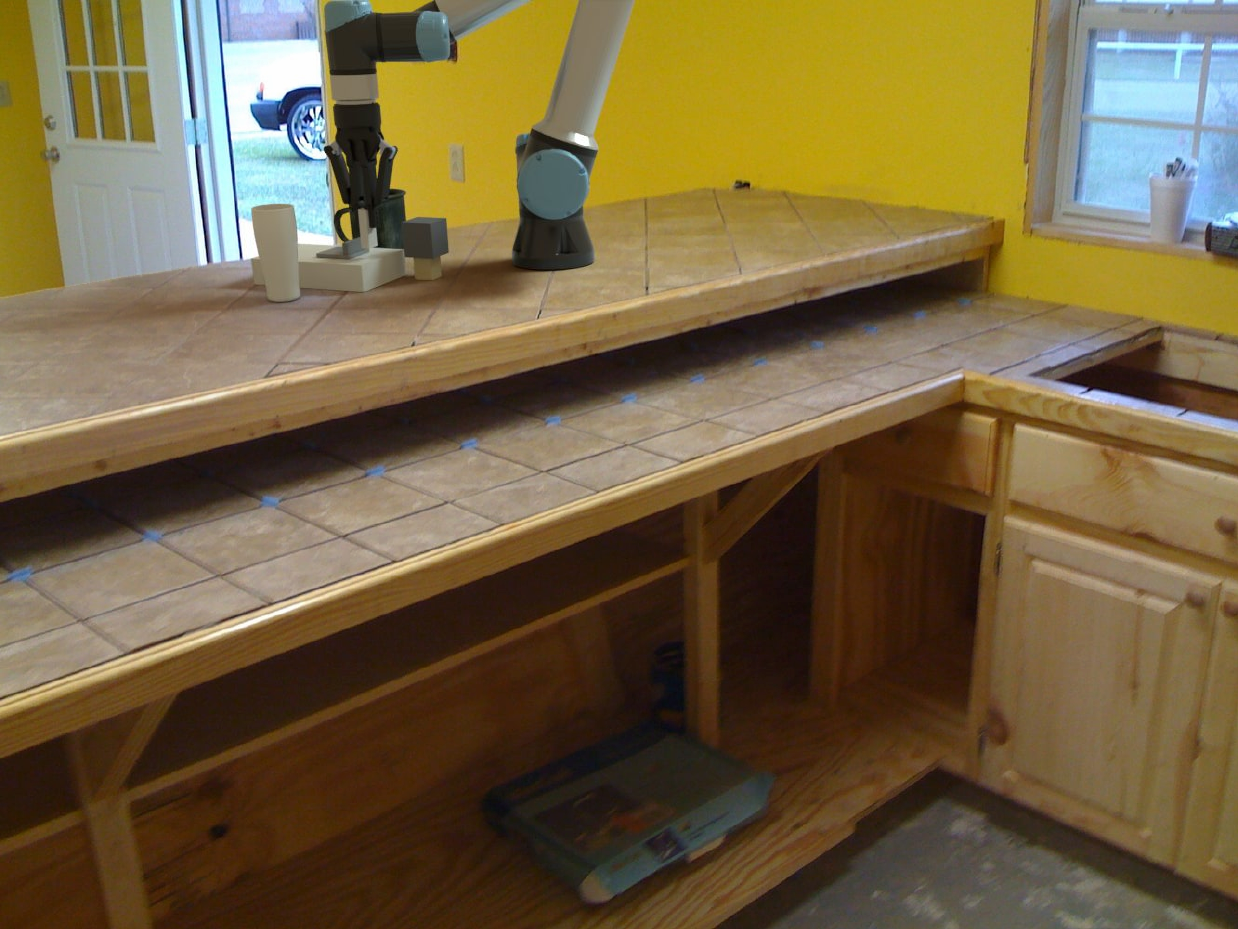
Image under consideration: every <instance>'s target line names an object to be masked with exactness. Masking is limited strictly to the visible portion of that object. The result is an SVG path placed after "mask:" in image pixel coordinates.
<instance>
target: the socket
mask: <svg viewBox="0 0 1238 929" xmlns="http://www.w3.org/2000/svg"><path fill="white" fill-rule="evenodd" d="M337 246H338V247H342V245H331V244H329V245H328V244H314V243H313V244H312V243H298V264H299V286H300V289H313V290H315V289H316V290H326V291H327V290H328V291H342V292H343V291H345V292H356V293H365V292H368V291H370V290H372V289H375V288H377V287H380V286H382V285H385V284H387V283H390V282H393V281H395V280H397V279H399V278H402V277H404V276H407V265H406V264H407V263H406V257H404V249H387V248H370V249H369V252H367V253H364V254H361V255H359V256H356V257H353V258H350V259H342V258H325V257H316V253H319V252H322V251H325V250H328V249H331V248H334V247H337ZM250 262H251V269H252V278H253V284H254V285H256V286H257V285H259V286H265V282H264V277H263V273H262V268H261V263H260V259H259V255H258V256H255V257H253V258H250Z"/></svg>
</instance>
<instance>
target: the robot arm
mask: <svg viewBox="0 0 1238 929" xmlns="http://www.w3.org/2000/svg"><path fill="white" fill-rule="evenodd" d="M532 1H533V0H431V1H429V2H427V3H425V4H423V5H422V6H420V7H418V8H416V9H415V10H412V11H404V12H402V11H401V12H400V11H399V12H376V11H373V8H372V4H371V2H370V1H369V0H329V1H327V2H326V3H325V4H324V7H323V12H324V13H323V14H324V15H323V16H324V35H325V42H326V44H325V45H326V52H327V60H328V61H327V62H328V63H327V64H328V70H329V71H328V72H329V81H330V92H331V100H333V101H335V104H333V106H332V111H333V112H332V113H333V121H334V126H335V127H336V132H335V136H334V141H332V143H330V144H329V145H325V146H323V151H324V154H325V155H326V156H327V158H328V160H329V161H330V164H331V167H332V171H333V174H334V177H335V178H334V179H335V182H336V184H337V188H338V191H339V194H340V197H341V200H342V203H343V204H344V205H347V206H349V205H351V206H352V207H353V208H354V213H355V223H356V226H357V227H360V236H361V246H362V248H366V249H370V248H373V247H376V246H378V242H377V232H376V228H377V227H379V225H380V222H379V211H378V208H379V206H381V205H383V204H386V203H388V200H389V192H390V189H391V182H392V172H393V166H394V160H395V158H396V156H397V153H398V151H399V148H398V147H397V145H390V143H388V142H387V141H385V137H384V135H383V133H382V130H381V127H382V115H381V114H382V112H381V105H380V104H379V102H377V101H376V100H378V99H379V98H380V92H379V83H378V70H377V63H396V62H397V63H417V62H418V63H419V62H420V63H422V62H423V63H424V62H425V63H429V64H430V63H435V62H442V61H447V60H448V59H449V58H450V55H451V45H453V44H454V43H455V42H458V41H460V40H461V39H463V38H466V37H467V36H469V35H470V34H473V33H474V32H476V31H478V30H480V29H482V28H484V27H485V26H488V25H489V24H491V23H493V22H495V21H497V20H498V19H500V18H503V17H504V16H506V15H508V14H510V13H512V12H513V11H515V10H517V9H519V8H521V7H522V6H524V5H525V6H526V4H528V3H530V2H532ZM635 2H636V0H578V2H577V5H576V9H575V13H574V16H573V19H572V23H571V26H570V29H569V32H568V35H567V36H568V37H567V39H566V42H565V43H566V44H565V47H564V50H563V53H562V57H561V60H560V63H559V66H558V70H557V72H556V77H555V80H554V83H553V88H552V90H551V94H550V96H549V100H548V104H547V107H546V110H545V114H544V117H543V118H542V119H541V120H539V121H537V122H536V123H534V124H533V125H532V126H531V129H530V132H528V133H527V132H526V133H525V132H524V133H520V134H518V135H517V136H516V139H515V147H514V153H515V155H516V156H515V158H516V172H517V174H516V175H517V176H516V191H517V194H518V212H519V213H518V215H519V220H518V226H517V229H516V230H517V231H516V234H515V237H514V241H513V245H512V248H511V262H512V264H513V265H514V266H516V267H518V268H523V269H532V270H563V269H574V268H580V267H583V266H584V267H585V266H587V265H590V264H592V263H594V262H595V248H594V245H593V242H592V239H591V235H590V232H589V230H588V227H587V224H586V222H585V221H586V220H585V217H584V204H585V202H586V200H587V197H588V196H589V193H590V184H591V183H590V178H591V175H592V172H593V169H594V165H595V161H596V159H597V155H598V152H599V150H600V147H599V145H598V143H597V140H596V139H595V135H594V134H595V131H596V128H597V125H598V121H599V117H600V115H601V112H602V108H603V105H604V102H605V99H606V95H607V92H608V89H609V86H610V83H611V80H612V76H613V73H614V70H615V66H616V63H617V59H618V56H619V54H620V50H621V48H622V44H623V40H624V37H625V34H626V32H627V27H628V24H629V21H630V17H631V15H632V11H633V8H634V5H635ZM378 154H379V155H380V157H379V161H378V158H377V156H378ZM377 165H378V169H377Z"/></svg>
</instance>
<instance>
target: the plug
mask: <svg viewBox="0 0 1238 929" xmlns="http://www.w3.org/2000/svg"><path fill="white" fill-rule="evenodd" d="M401 223H402V234H403V246H404V257H405V258H408V259H409V258H410V259H413V269H414V280H423V281H435V280H436V279H439V278H441V277H443V273H442V272H443V271H442V261H441V257H442V256H444V255H446V254H448V253H449V252H450V251H449V239H448V238H449V236H448V225H447V224H448V223H447V217H428V216H427V217H426V216H416V217H414V218H410V219H408V220H407V219H406V221H404V222H401Z"/></svg>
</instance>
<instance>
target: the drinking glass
mask: <svg viewBox="0 0 1238 929" xmlns="http://www.w3.org/2000/svg"><path fill="white" fill-rule="evenodd" d="M251 222H252V229H253V235H254V240H255V246H256V248H257V254H258V256H259V259H260V263H261V268H262V273H263V277H264V282H265V285H264V286H265V294H266V298H267V300H268V301H270V302H273V303H274V302H275V303H287V302H294V301H296V300H298V299H299V298H300V297H301V288H300V286H299V264H298V244H299V241H298V240H299V237H298V225H297V217H296V211H295V206H294V205H293V204H291V203H271V204H270V203H269V204H261V205H256V206H253V207H251Z"/></svg>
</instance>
